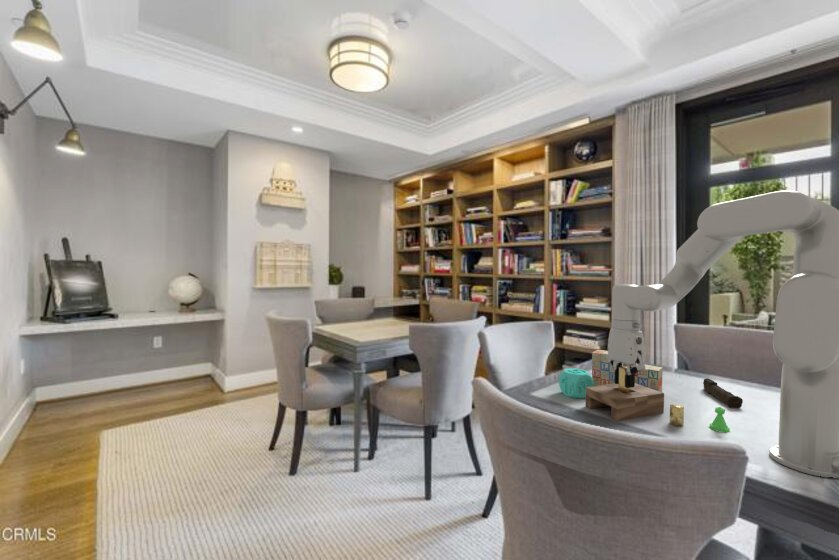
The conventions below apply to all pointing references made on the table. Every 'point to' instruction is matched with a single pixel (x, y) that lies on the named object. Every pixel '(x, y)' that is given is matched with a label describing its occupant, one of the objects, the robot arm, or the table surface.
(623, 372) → the tall pin
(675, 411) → the short pin
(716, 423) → the game piece
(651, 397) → the bridge board
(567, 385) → the decorative dice
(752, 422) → the table surface
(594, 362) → the stack of blocks
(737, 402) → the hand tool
